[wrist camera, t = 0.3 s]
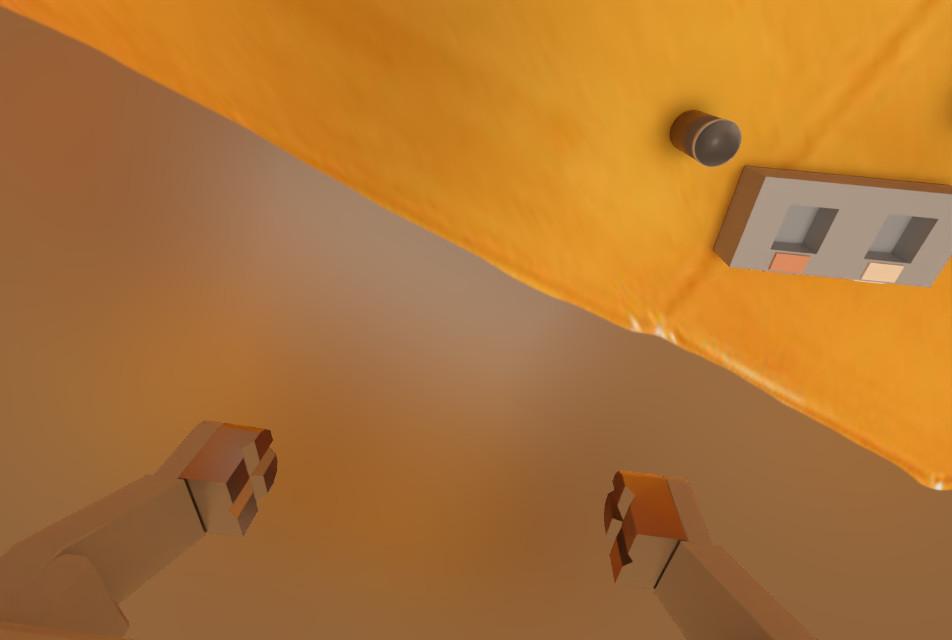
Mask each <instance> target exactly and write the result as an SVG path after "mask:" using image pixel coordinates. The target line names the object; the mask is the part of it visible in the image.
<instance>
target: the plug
mask: <svg viewBox="0 0 952 640" xmlns="http://www.w3.org/2000/svg"><path fill="white" fill-rule="evenodd" d="M670 139H671V142H672V144H673V145H674V146H675V147H676V148H678V149H679V150H681V151H683V152H684V153H686V154H687V155H689V156H691V157H692V158H694V159H696V160H697V161H698V162H699V163H701V164H703V165H705V166H708V167H716V166H720V165H722V164H725V163H726V162H728V161H729V160H730V159H732V158H733V156H734V155H735V154H736V153H737V151H738V149H739V147H740V144H741V131H740V129H739V127H738V126H737V125H736V124H735V123H734V122H732V121H729V120H726V119H721V118H718V117H715V116H712V115H709V114H706V113H703V112H700V111H696V110H692V111H687V112H685V113H683V114H681V115H680V116H679V117H678V118H677V119H676V120H675V121H674V123H673V125H672V127H671V130H670Z"/></svg>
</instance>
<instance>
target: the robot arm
mask: <svg viewBox="0 0 952 640" xmlns="http://www.w3.org/2000/svg"><path fill="white" fill-rule="evenodd" d="M272 441H273V438H272V435H271V431H270V430H268V429H263V428H256V427H249V426H243V425H235V424H229V423H220V422H213V421H203V422H201V423H199V424H198V425H197V426H196V427H195V428H194V429H193V430H192V431H191V433H190V434H189V435H188V436H187V437H186V439H184V441H183V442H182V443H181V444H180V445H179V447H177V449H176V450H175V451H174V452H173V453H172V454H171V456H170V457H169V458H168V459H167V460H166V461H165V463H164V464H163V465H162V466H161V467H160V468H159V469H158V471H157V472H156V473H155V474H154V475H146V476H144V477H142V478H140V479H138V480H136V481H134V482H132V483H130V484H128V485H127V486H125V487H123V488H121V489H119V490H117V491H115V492H113V493H111V494H109V495H107V496H105V497H104V498H102V499H100V500H98V501H96V502H94V503H92V504H90V505H88V506H86V507H84V508H83V509H81V510H79V511H77V512H75V513H73V514H71V515H69V516H67V517H65V518H63V519H61V520H60V521H58V522H56V523H54V524H52V525H50V526H48V527H46V528H44V529H42V530H41V531H39V532H37V533H35V534H33V535H31V536H29V537H27V538H25V539H23V540H21V541H20V542H18V543H16V544H14V545H13V546H12V547H11V548H10V549H9V550H8V551H7V552H6V553H5V554H4V555H3V556H1V557H0V640H135V639H129V638H123V637H124V636H125V634H126V633H127V631H128V630H129V621H128V619H127V618H126V616H125V615H124V613H123V612H122V610H121V609H120V607H119V606H118V604H119V603H120V602H122V601H123V600H124V599H126V598H127V597H128V596H129V595H131V594H132V593H133V592H134V591H136V590H137V589H138V588H139V587H141V586H142V585H143V584H144V583H146V582H147V581H148V580H150V579H151V578H152V577H153V576H155V575H156V574H157V573H158V572H160V571H161V570H162V569H163V568H165V567H166V566H167V565H169V564H170V563H171V562H172V561H174V560H175V559H176V558H178V557H179V556H180V555H181V554H182V553H184V552H185V551H186V550H188V549H189V548H190V547H191V546H193V545H194V544H195V543H196V542H198V541H199V540H200V539H202V538H203V537H204V536H205V533H209V534H220V535H229V536H240V537H243V536H244V534H245V533H246V531H247V529H248V527H249V526H250V524H251V522H252V520H253V519H254V517H255V515H256V513H257V512H258V508H257V502H256V501H257V500H259V499H260V498H262V497H263V496H265V495H266V494H267V493H268V492H269V490H270V488H271V487H272V485H273V483H274V479H275V476H276V473H277V463H278V461H277V456H276V453H275V452H274V451H273V450H272V449H271V448H270V447H269V446H270V445H271V443H272ZM612 482H613V487H614V490H613V491H612V492H610V493H608V495H607V498H606V502H605V507H604V526H605V532H606V536H607V537H608V539H609V540H610V541H611V542H612V543H613V547H612V549H611V552H610V554H609V555H610V560H611V566H612V571H613V577H614V581H615V584H617V585H624V586H630V587H637V588H643V589H649V590H654V594H655V595H656V596H657V598H658V599H659V601H660V602H661V603H662V605H663V606H664V608H665V609H666V611H667V612H668V614H669V615H670V616H671V617H672V619H673V621H674V622H675V623H676V625H677V626H678V628H679V629H680V630H681V632H682V633H683V635H684V636H685V638H686V639H687V640H817V639H816V638H815V637H814V636H813V635H812V634H811V633H810V632H809V631H808V630H807V629H806V628H805V627H804V626H803V625H802V624H801V623H800V622H799V621H798V620H797V619H796V618H795V617H794V616H793V615H792V614H791V613H790V612H788V611H787V610H786V609H785V608H784V607H783V606H782V605H781V604H780V603H779V602H778V601H777V600H776V599H775V598H774V597H773V596H772V595H771V594H770V593H769V592H768V591H767V590H766V589H765V588H764V587H763V586H762V585H761V584H760V583H759V582H758V581H757V580H755V579H754V578H753V577H752V576H751V575H750V574H749V573H748V572H747V571H746V570H745V569H744V568H743V567H742V566H741V565H740V564H739V563H738V562H737V561H736V560H735V559H734V558H733V557H732V556H731V555H730V554H729V553H728V552H727V551H726V550H724V549H723V548H722V547H721V546H718V545H714V544H713V542H712V539H711V537H710V534H709V532H708V529H707V527H706V524H705V522H704V519H703V517H702V514H701V512H700V509H699V507H698V504H697V502H696V499H695V497H694V494H693V492H692V489H691V487H690V484H689V482H688V481H687V480H686V479H685V478H680V477H679V478H678V477H671V476H660V475H656V474H645V473H637V472H628V471H617V472H616V473H615V476H614V478H613V481H612Z"/></svg>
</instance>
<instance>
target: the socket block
mask: <svg viewBox="0 0 952 640" xmlns="http://www.w3.org/2000/svg"><path fill="white" fill-rule="evenodd" d="M713 251H714V252H715V253H716V254H717V255H718V256H719V257H720V258H721V259H722V260H723V261H724V262H725V263H726V264H727V265H728V266H729V267H734V268H744V269H754V270H762V271H763V272H773V273H783V274H792V275H795V274H803V275H813V276H822V277H832V278H842V279H851V280H852V281H861V282H871V283H880V284H885V283H891V284H900V285H910V286H920V287H931V285H932V284H933V282H934V281H935V279H936V278H937V276H938V275H939V273H940V272H941V270H942V269H943V267H944V266H945V264H946V263H947V261H948V260H949V258H950V257H951V256H952V186H950V185H941V184H931V183H920V182H910V181H899V180H889V179H878V178H868V177H857V176H847V175H836V174H826V173H815V172H805V171H794V170H784V169H773V168H763V167H752V166H744V169H743V172H742V174H741V177H740V180H739V182H738V185H737V188H736V190H735V193H734V196H733V198H732V201H731V204H730V206H729V209H728V212H727V214H726V217H725V220H724V222H723V225H722V228H721V230H720V233H719V236H718V238H717V241H716V244H715V246H714V249H713Z"/></svg>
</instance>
